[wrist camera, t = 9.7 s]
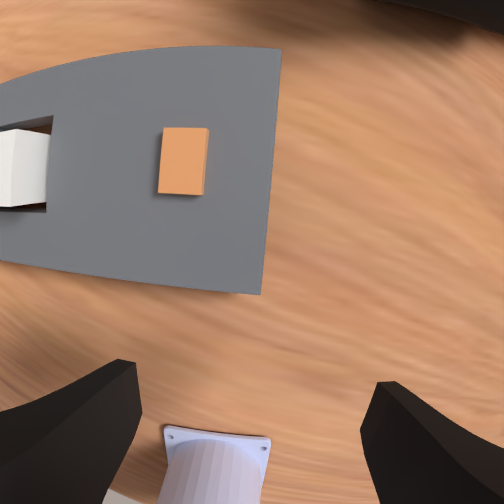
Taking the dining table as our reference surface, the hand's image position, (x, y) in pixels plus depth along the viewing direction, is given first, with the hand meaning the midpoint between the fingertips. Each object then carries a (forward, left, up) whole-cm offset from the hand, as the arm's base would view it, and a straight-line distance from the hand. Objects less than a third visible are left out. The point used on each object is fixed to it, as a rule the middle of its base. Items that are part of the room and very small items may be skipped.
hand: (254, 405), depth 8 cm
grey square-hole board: (+7, +11, -9) cm, 16 cm away
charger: (+7, +15, -10) cm, 19 cm away
